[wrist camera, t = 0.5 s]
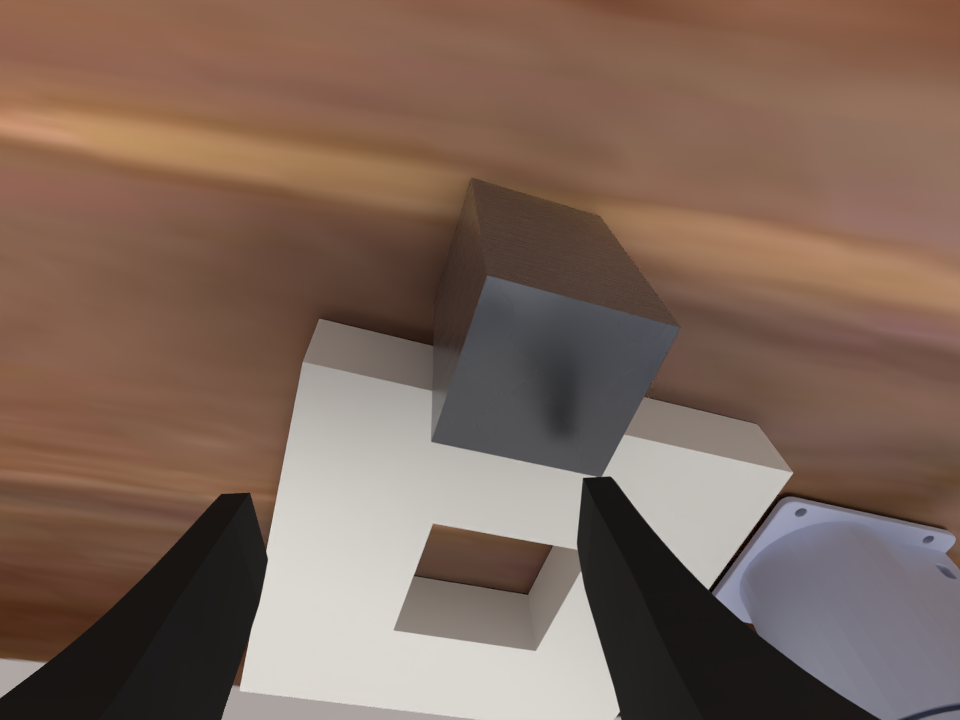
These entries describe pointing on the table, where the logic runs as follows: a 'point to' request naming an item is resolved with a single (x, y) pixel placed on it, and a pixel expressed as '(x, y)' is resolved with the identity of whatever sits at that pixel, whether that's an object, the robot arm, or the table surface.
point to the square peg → (541, 334)
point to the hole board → (473, 506)
